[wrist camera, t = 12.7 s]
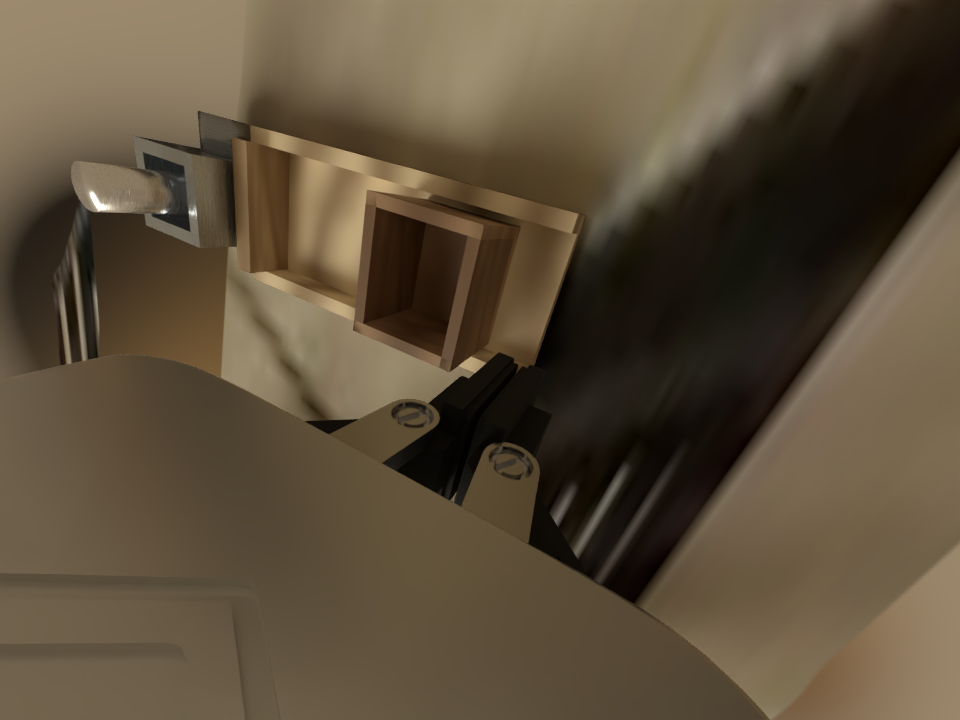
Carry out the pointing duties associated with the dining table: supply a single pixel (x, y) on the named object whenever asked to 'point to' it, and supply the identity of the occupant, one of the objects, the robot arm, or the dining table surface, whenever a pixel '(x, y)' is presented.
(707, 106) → the dining table surface
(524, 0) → the dining table surface
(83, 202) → the pin
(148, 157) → the grey hollow block
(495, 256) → the crate
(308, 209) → the tray
